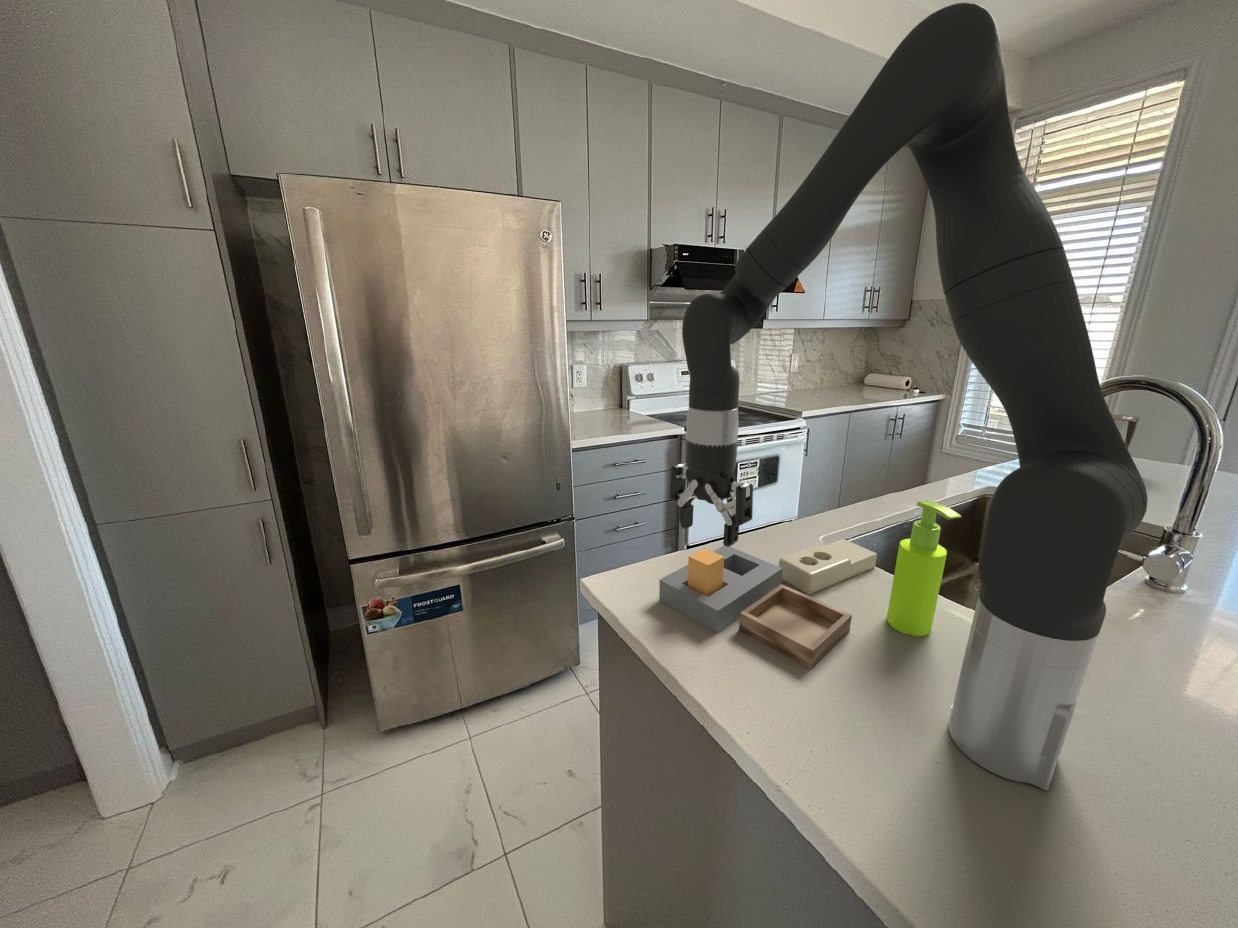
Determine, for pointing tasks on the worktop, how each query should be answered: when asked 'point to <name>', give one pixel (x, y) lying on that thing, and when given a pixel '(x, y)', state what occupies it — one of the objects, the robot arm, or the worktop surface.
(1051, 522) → the robot arm
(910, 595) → the soap dispenser
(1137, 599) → the worktop surface
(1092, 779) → the worktop surface
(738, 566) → the cinder block
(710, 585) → the plug
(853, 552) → the electrical outlet
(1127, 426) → the coffee box
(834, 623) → the tray
